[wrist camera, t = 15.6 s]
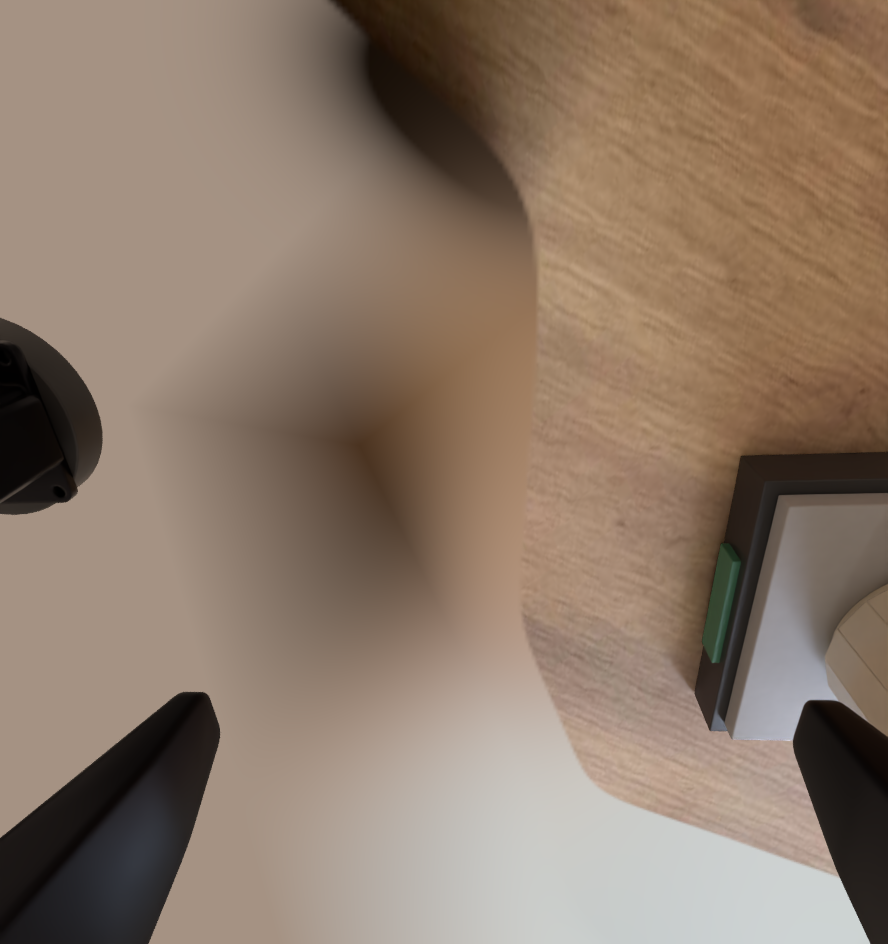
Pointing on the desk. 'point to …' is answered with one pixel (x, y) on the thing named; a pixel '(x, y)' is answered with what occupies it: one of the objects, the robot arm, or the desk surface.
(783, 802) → the desk surface
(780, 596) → the scale
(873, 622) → the beige cylindrical cup
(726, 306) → the desk surface
